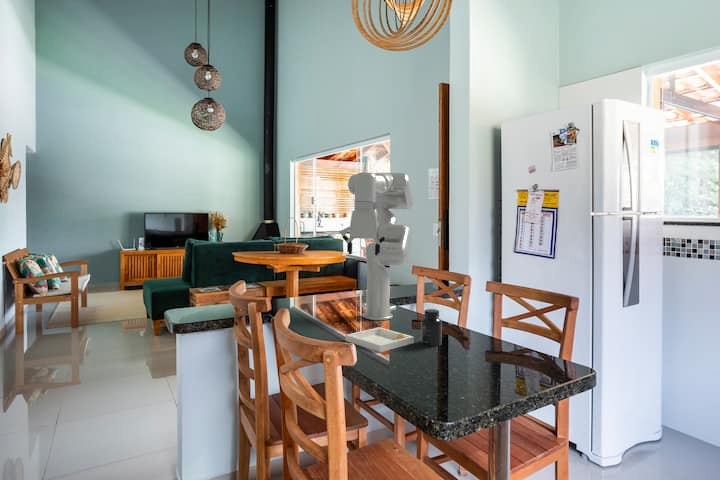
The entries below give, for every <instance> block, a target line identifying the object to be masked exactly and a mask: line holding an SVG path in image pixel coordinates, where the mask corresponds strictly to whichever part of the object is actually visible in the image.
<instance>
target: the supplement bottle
mask: <svg viewBox="0 0 720 480" xmlns="http://www.w3.org/2000/svg"><path fill="white" fill-rule="evenodd" d="M423 316H424V317H423V318H422V319H421V321H420V344H421V345H423V346H426V347H439V346H441V345H442V342H443V341H442V338H443V336H442V335H443V334H442V333H443V332H442V330H443V321H442V320H441V319H440V318H439V317H440V310H438V309H433V308H429V309H424V312H423Z"/></svg>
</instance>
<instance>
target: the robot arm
mask: <svg viewBox="0 0 720 480" xmlns="http://www.w3.org/2000/svg"><path fill="white" fill-rule="evenodd" d="M347 186H348V191H349V192H350V193H351V194H352V195H354V204H353V205H354V207H353V209H354V210H352V211H351V217H350V224H349V226H348V227H345V228H344V229H341V230H340V235H341V237H342V239H343V240H344V241H345V242H346V245H347V246H346V248H347V249H346V250H347V251H346V252H348V255H352V254H353V243H352V241H354V239H363V240H365V239H367V240H368V239H369V240H372V239H373V242H372V241H371V242H370V243H368V244H367V245H366V248H365V260H366V271H367V272H366V311H365V312H363V313H362V317H363V318H364V319H367V320H372V321H387V320H388V321H389V320H390V319H393V313H391V312H392V311H396V310H397V306H396V305H390V291H391V288H390V287H391V275H390V273H389V270H388V269H387V267H386V266H397V267H398V266H400V267H401V266H404V265H406V263H407V260H408V258H409V257H408V256H409V253H410V246H411V242H412V241H411V240H412V231H411V229H410V226H408V225H406V224H398V218H397V217H396V215H395V214H394V213H393V211H391V210H409V209H411V208H412V207H413V204H414V193H413V189H412V188H413V187H412V183H411V180H410V178H409V175H407V173H405V172H358V173H356V174H352V175H351V176H350V177H349V178H348V182H347ZM347 232H349V237H348V236H347V235H346V233H347Z"/></svg>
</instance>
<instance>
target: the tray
mask: <svg viewBox="0 0 720 480" xmlns="http://www.w3.org/2000/svg"><path fill="white" fill-rule="evenodd" d="M400 333H401V332H398V331H394V330H391V329H388V328H383V327H381V326H379V327H373V328H370V329H365V330H362V331H361V330H360V331H357V332H353V333H349V334H347V333H346V334H345V342H348V343H350V344H353V345H358V346H360V347H363V348H366V349H369V350H372V351H375V352H378V353H384V352H386V351H387V352H388V351H390V350H394V349H396V348H397V349H398V348H401V347H404V346H408V345H411V344H414V342H415V336H412V335H409V334H406V333H403V334H404V335H405V337H406V338H402V339H398V340H397V335H398V334H400Z"/></svg>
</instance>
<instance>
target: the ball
mask: <svg viewBox="0 0 720 480" xmlns="http://www.w3.org/2000/svg"><path fill="white" fill-rule="evenodd" d="M399 333H400V334H398V335H397V340H398V339H402V338H406V337H405V335H404V334H405V333H402V332H399Z"/></svg>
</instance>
